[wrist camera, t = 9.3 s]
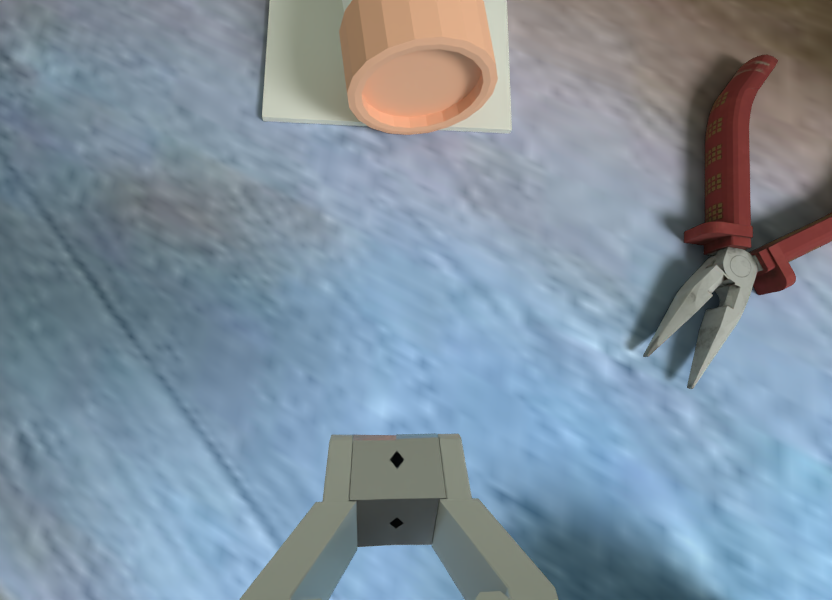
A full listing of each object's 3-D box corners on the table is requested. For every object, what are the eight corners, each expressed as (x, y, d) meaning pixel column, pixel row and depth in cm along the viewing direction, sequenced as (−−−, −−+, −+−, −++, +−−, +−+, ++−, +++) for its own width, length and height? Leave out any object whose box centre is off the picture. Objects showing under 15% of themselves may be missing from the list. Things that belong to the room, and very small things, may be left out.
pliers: (570, 311, 25) (592, 304, 23) (732, 66, 29) (767, 36, 27) (737, 434, 25) (779, 441, 22) (878, 170, 29) (928, 150, 26)
